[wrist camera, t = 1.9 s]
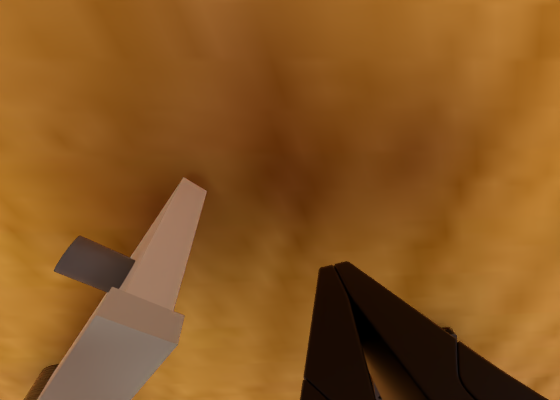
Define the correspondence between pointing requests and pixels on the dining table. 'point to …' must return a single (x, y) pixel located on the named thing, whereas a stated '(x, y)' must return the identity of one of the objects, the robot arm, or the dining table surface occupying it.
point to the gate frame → (40, 383)
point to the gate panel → (128, 305)
